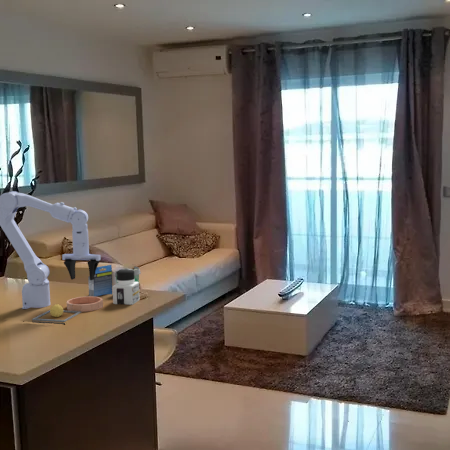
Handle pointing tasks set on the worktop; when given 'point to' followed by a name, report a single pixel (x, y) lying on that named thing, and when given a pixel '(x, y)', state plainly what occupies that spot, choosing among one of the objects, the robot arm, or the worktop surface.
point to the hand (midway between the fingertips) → (82, 279)
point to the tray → (54, 320)
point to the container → (126, 288)
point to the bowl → (84, 303)
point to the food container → (136, 274)
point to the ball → (56, 310)
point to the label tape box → (101, 282)
